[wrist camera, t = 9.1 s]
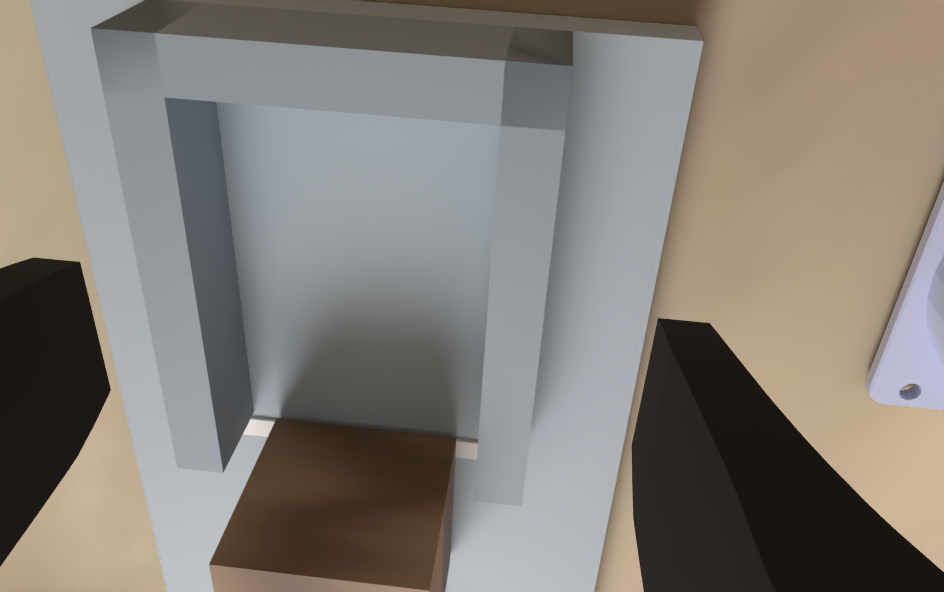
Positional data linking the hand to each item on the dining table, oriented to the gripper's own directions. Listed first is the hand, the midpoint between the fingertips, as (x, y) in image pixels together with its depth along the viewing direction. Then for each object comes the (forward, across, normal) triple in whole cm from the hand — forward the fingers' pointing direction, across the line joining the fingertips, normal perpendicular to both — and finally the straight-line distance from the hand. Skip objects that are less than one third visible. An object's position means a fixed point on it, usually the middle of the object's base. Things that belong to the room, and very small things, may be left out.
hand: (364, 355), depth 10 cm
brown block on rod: (+9, +2, +17) cm, 19 cm away
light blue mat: (+10, +2, +11) cm, 15 cm away
